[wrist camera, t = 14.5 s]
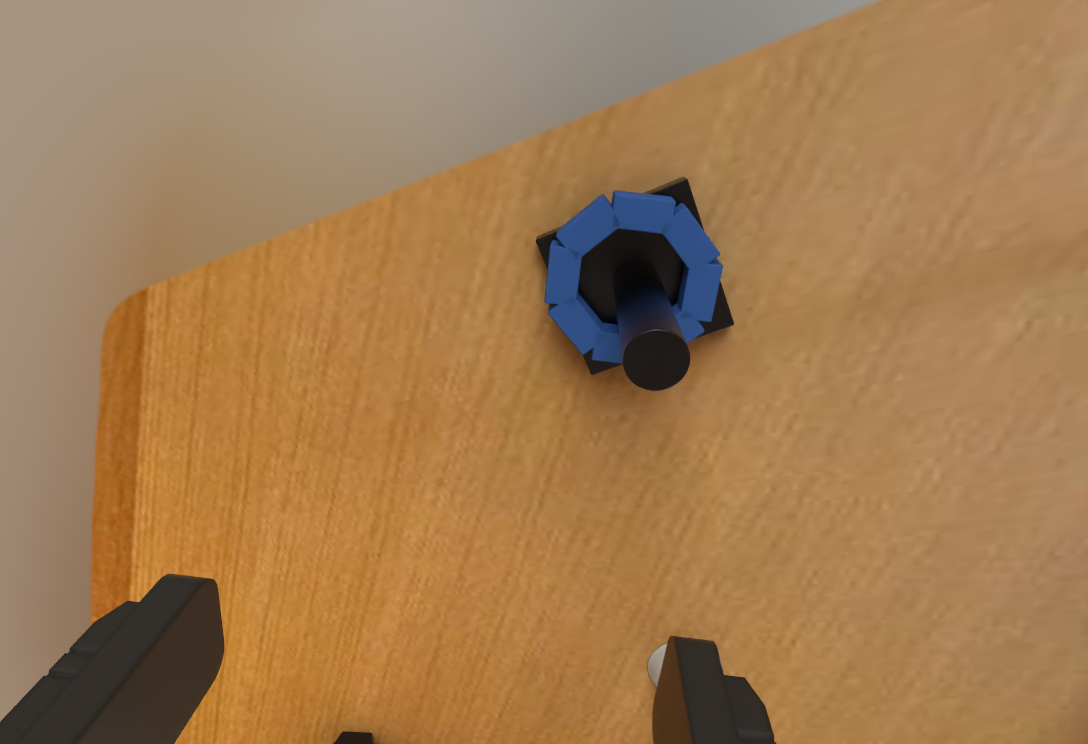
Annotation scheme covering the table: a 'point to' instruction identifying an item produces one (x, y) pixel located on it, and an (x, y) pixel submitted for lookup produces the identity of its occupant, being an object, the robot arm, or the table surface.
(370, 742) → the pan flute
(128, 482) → the table surface
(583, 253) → the ring
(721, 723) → the robot arm
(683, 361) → the black peg stand
